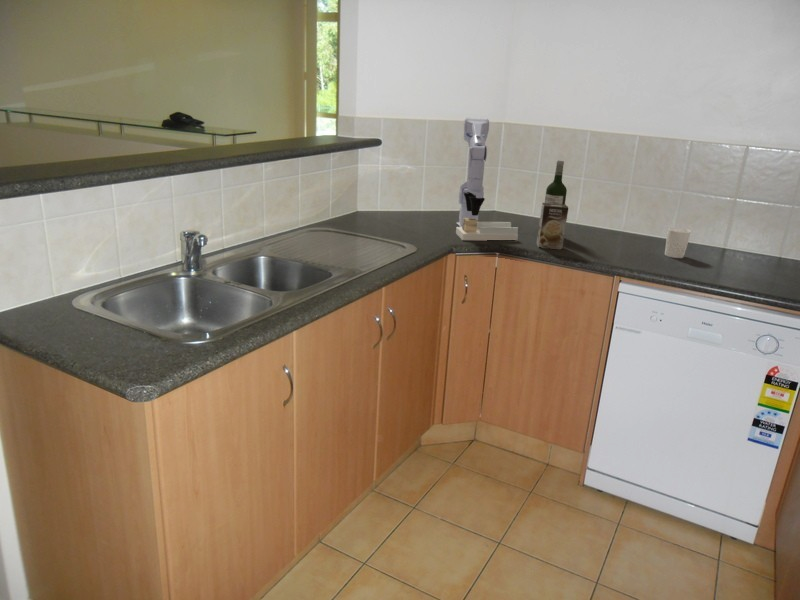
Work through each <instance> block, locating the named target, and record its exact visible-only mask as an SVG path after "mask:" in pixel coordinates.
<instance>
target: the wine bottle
mask: <svg viewBox="0 0 800 600" xmlns="http://www.w3.org/2000/svg"><path fill="white" fill-rule="evenodd" d="M564 164H565V162H564V160H559V159H558V160H557V161H556V167H555V172H554V179H553V181H552V182H551V183H550V184H549V185H547V187H546V189H545V198H544V203H552V204H563V205H566V199H567V192H568V191H567V187H566V186H565V184H564V183H563V173H564V166H565V165H564Z"/></svg>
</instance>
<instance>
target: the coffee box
mask: <svg viewBox="0 0 800 600" xmlns="http://www.w3.org/2000/svg"><path fill="white" fill-rule="evenodd" d="M541 204H542V205H541V208H540V209H541V210H540V216H539V225H538V231H537V237H536V242H535V243H536V246H537V248H539V247H541V249H549V248H550V249H549V250H551V249H553V250H561V249H563V247H564V246H563V245H564V239H565V231H566V228H567V227H566V226H567V219H568V215H569V214H568V213H569V206H568V205H566V204H565V205H563V204H552V203H545V202H542V203H541Z"/></svg>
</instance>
